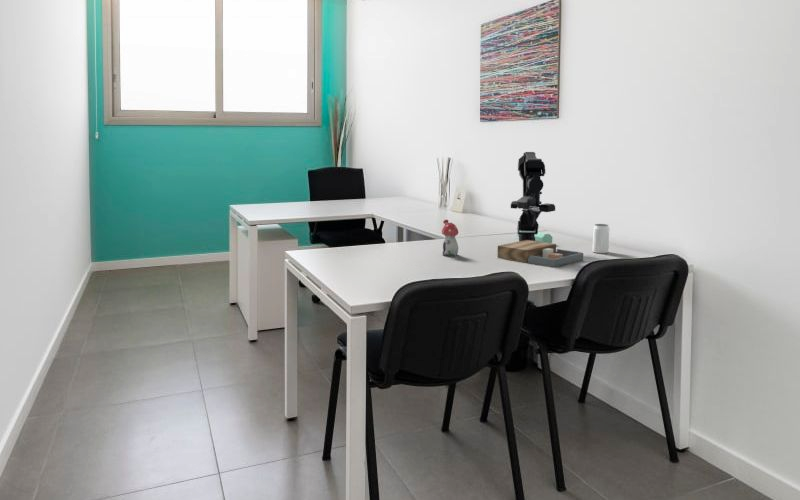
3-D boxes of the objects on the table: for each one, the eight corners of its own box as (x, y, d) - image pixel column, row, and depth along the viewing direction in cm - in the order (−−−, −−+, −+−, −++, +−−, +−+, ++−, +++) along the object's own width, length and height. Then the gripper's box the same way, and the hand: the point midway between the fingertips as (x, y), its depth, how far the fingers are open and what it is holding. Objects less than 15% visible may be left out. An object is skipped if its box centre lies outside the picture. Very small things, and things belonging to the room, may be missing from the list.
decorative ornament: (440, 253, 266) (440, 219, 263) (454, 252, 267) (454, 218, 264) (445, 257, 257) (445, 222, 254) (460, 256, 258) (460, 221, 255)
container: (517, 225, 304) (544, 231, 281) (526, 229, 306) (554, 235, 283) (512, 236, 304) (539, 243, 281) (522, 240, 306) (550, 247, 283)
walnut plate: (497, 257, 255) (497, 245, 254) (526, 251, 268) (526, 239, 267) (526, 262, 244) (527, 250, 243) (555, 255, 257) (556, 244, 256)
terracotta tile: (556, 255, 242) (556, 261, 243) (562, 254, 245) (562, 260, 245) (548, 254, 245) (548, 260, 246) (554, 252, 248) (554, 258, 248)
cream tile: (542, 249, 247) (548, 250, 246) (548, 248, 250) (553, 248, 248) (542, 259, 248) (547, 259, 246) (547, 257, 251) (553, 258, 249)
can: (609, 253, 260) (610, 226, 257) (593, 253, 261) (594, 225, 259) (607, 251, 266) (608, 223, 264) (591, 250, 267) (592, 223, 265)
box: (527, 262, 244) (527, 255, 243) (556, 255, 257) (556, 248, 256) (554, 267, 234) (554, 259, 234) (582, 260, 247) (583, 252, 247)
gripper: (503, 189, 254) (502, 226, 257) (541, 192, 241) (539, 231, 244) (519, 187, 262) (518, 223, 265) (556, 190, 248) (555, 228, 251)
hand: (531, 226), depth 256 cm, fingers closed
